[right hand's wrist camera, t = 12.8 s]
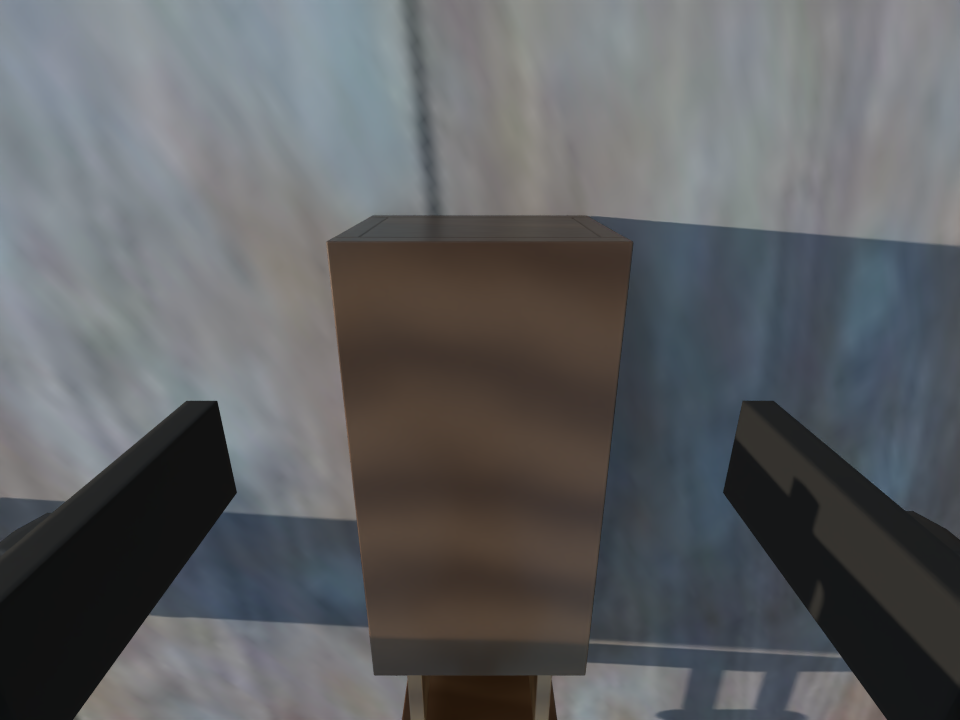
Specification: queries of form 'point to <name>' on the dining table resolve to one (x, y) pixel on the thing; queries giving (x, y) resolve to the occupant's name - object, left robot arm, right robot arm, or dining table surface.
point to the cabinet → (479, 432)
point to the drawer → (479, 697)
